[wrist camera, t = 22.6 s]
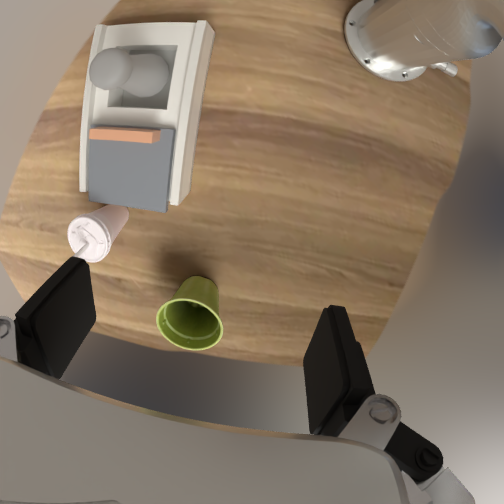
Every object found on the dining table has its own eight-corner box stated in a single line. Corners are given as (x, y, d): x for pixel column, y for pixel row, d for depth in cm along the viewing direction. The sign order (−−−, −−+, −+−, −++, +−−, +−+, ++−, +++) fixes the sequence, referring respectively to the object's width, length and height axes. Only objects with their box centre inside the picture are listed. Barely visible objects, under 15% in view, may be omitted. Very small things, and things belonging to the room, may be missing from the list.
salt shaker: (125, 76, 32) (69, 70, 20) (157, 47, 30) (110, 27, 19) (149, 106, 34) (98, 109, 22) (183, 78, 32) (143, 66, 21)
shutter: (94, 123, 31) (79, 126, 28) (176, 129, 31) (166, 131, 28) (92, 198, 35) (78, 207, 32) (167, 210, 36) (158, 220, 33)
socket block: (117, 33, 30) (96, 25, 24) (215, 33, 30) (206, 20, 25) (101, 179, 39) (79, 191, 34) (190, 191, 40) (178, 205, 35)
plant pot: (211, 256, 45) (200, 289, 37) (239, 304, 48) (234, 341, 40) (161, 277, 47) (143, 310, 39) (191, 320, 50) (179, 356, 43)
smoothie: (113, 238, 44) (67, 286, 31) (93, 203, 41) (40, 242, 29) (144, 223, 42) (101, 271, 30) (124, 185, 40) (71, 221, 27)
